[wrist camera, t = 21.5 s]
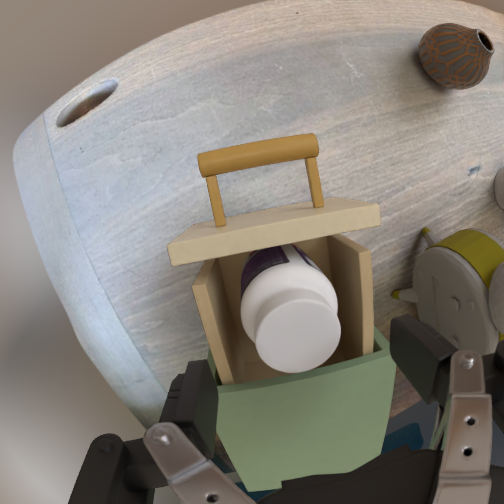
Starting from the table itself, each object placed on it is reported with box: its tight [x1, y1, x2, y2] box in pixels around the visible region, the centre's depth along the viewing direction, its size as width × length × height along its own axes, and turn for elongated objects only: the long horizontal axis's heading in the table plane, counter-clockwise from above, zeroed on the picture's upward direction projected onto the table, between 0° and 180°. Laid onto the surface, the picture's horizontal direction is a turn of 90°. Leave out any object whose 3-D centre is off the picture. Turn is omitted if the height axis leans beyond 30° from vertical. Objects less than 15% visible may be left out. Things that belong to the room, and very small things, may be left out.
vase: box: [419, 23, 494, 90], centre depth 14 cm, size 7×7×9 cm
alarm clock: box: [392, 227, 504, 356], centre depth 17 cm, size 12×7×15 cm, turn 22°
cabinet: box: [207, 325, 396, 492], centre depth 21 cm, size 15×13×10 cm
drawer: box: [167, 133, 381, 385], centre depth 19 cm, size 18×11×8 cm, turn 11°
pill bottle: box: [240, 243, 341, 373], centre depth 17 cm, size 5×5×10 cm
